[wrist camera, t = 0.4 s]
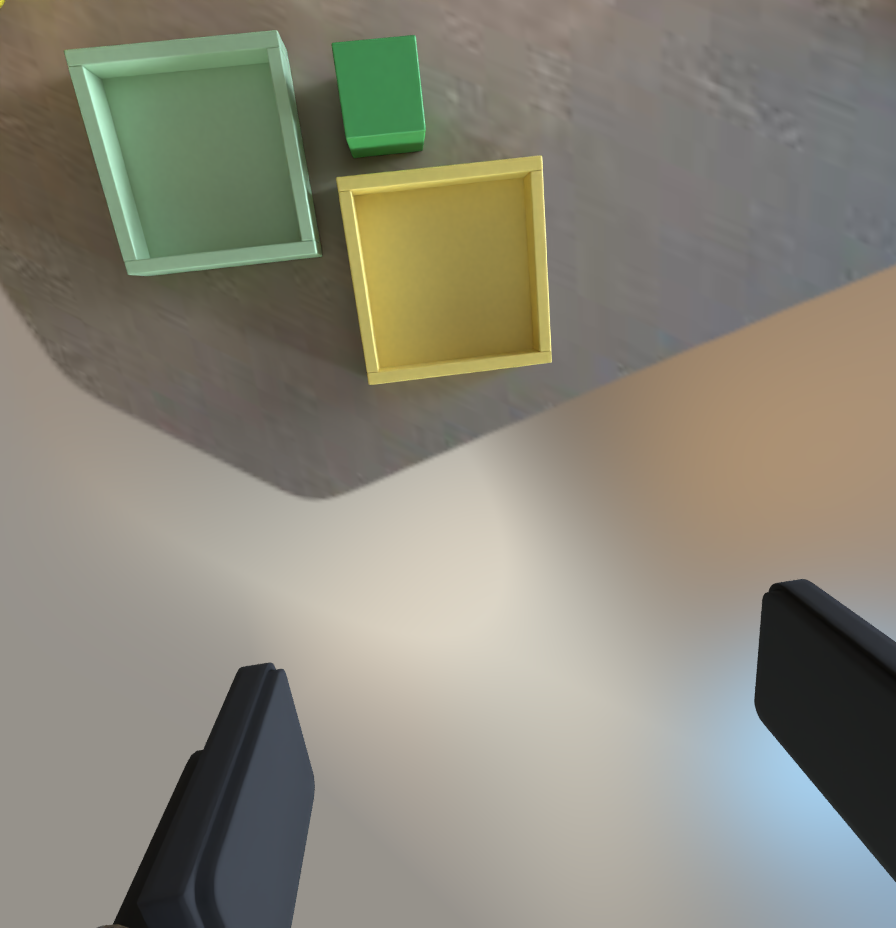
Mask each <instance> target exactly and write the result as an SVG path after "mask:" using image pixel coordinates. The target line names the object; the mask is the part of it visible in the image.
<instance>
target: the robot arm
mask: <svg viewBox="0 0 896 928" xmlns="http://www.w3.org/2000/svg"><path fill="white" fill-rule="evenodd" d="M754 702H755V708H756V711H757V714H758V716H759V718H760V720H761V721H762V722H763V724H764V725H765V726H766V727H767V728H768V730H769V731H770V732H771V733H772V734H773V736H775V738H776V739H777V740H778V742H779V743H780V744H781V745H782V746H783V748H784V749H785V750H786V751H787V752H788V754H789V755H790V756H791V757H792V758H793V760H794V761H795V762H796V763H797V764H798V765H799V767H800V768H801V769H802V770H803V772H804V773H805V774H806V775H807V776H808V778H809V779H810V780H811V781H812V782H813V784H814V785H815V786H816V787H817V788H818V790H819V791H820V792H821V793H822V794H823V796H824V797H825V798H826V799H827V800H828V802H829V803H830V804H831V805H832V806H833V808H834V809H835V810H836V811H837V812H838V814H839V815H840V816H841V817H842V818H843V819H844V821H845V822H846V823H847V824H848V826H850V828H851V829H852V830H853V832H854V833H855V834H856V835H857V836H858V838H859V839H860V840H861V841H862V842H863V843H864V845H865V846H866V847H867V848H868V849H869V851H870V852H871V853H872V854H873V855H874V857H875V858H876V859H877V860H878V861H879V863H880V864H881V865H882V866H883V867H884V869H885V870H886V871H887V872H888V873H889V875H890V876H891V877H892V878H893V879H894V881H895V882H896V642H895V641H893V640H892V639H891V638H889V637H888V636H886V635H885V634H884V633H882V632H881V631H879V630H878V629H876V628H875V627H874V626H872V625H871V624H870V623H868V622H867V621H865V620H864V619H863V618H861V617H860V616H858V615H857V614H855V613H854V612H853V611H851V610H850V609H848V608H847V607H846V606H844V605H843V604H841V603H840V602H839V601H837V600H836V599H834V598H833V597H832V596H830V595H829V594H827V593H826V592H825V591H823V590H822V589H820V588H819V587H817V586H816V585H815V584H813V583H812V582H810V581H808V580H805V579H800V580H793V581H786V582H781V583H775V584H773V585H772V586H771V587H770V589H769V592H767V593H765V594H764V596H763V599H762V611H761V625H760V636H759V649H758V661H757V674H756V686H755V699H754ZM314 788H315V785H314V775H313V771H312V767H311V764H310V760H309V756H308V753H307V749H306V745H305V742H304V738H303V734H302V731H301V727H300V723H299V720H298V716H297V713H296V709H295V705H294V701H293V698H292V694H291V691H290V687H289V683H288V679H287V676H286V673H285V671H284V669H278V670H276V669H275V666H274V665H273V663H264V664H257V665H251V666H245V667H241V668H239V670H238V672H237V673H236V676H235V678H234V680H233V683H232V685H231V687H230V690H229V692H228V694H227V696H226V699H225V701H224V703H223V706H222V708H221V710H220V712H219V715H218V717H217V719H216V722H215V724H214V726H213V729H212V731H211V733H210V735H209V738H208V740H207V742H206V745H205V747H204V749H203V750H199V751H196V752H195V753H194V754H192V755H191V757H190V759H189V760H188V762H187V764H186V766H185V768H184V770H183V772H182V775H181V777H180V779H179V781H178V783H177V785H176V788H175V790H174V792H173V794H172V796H171V799H170V801H169V803H168V805H167V807H166V809H165V812H164V814H163V816H162V818H161V820H160V823H159V825H158V827H157V829H156V832H155V833H154V836H153V838H152V840H151V842H150V844H149V847H148V849H147V851H146V853H145V855H144V858H143V860H142V862H141V864H140V866H139V868H138V871H137V873H136V875H135V877H134V879H133V881H132V884H131V886H130V888H129V890H128V892H127V895H126V897H125V899H124V901H123V904H122V906H121V908H120V910H119V912H118V914H117V916H116V919H115V921H114V923H113V925H105V926H100V927H98V928H291V925H292V919H293V913H294V908H295V902H296V897H297V891H298V885H299V879H300V874H301V868H302V862H303V856H304V851H305V845H306V840H307V834H308V828H309V823H310V817H311V811H312V805H313V800H314V790H315V789H314Z"/></svg>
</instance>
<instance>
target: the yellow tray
mask: <svg viewBox="0 0 896 928" xmlns="http://www.w3.org/2000/svg"><path fill="white" fill-rule="evenodd" d="M542 169H543V166H542V156H532V157H522V158H513V159H503V160H494V161H485V162H475V163H466V164H456V165H447V166H438V167H428V168H419V169H409V170H400V171H391V172H381V173H372V174H362V175H353V176H344V177H337V178H336V182H337V188H338V192H339V193H338V194H339V201H340V207H341V213H342V219H343V226H344V232H345V238H346V245H347V251H348V257H349V263H350V270H351V276H352V282H353V289H354V295H355V301H356V307H357V314H358V320H359V326H360V333H361V339H362V345H363V351H364V358H365V364H366V370H367V377H368V383H369V385H373V384H381V383H389V382H397V381H405V380H414V379H422V378H430V377H438V376H446V375H454V374H462V373H470V372H478V371H486V370H494V369H503V368H511V367H519V366H527V365H535V364H543V363H551V362H552V356H551V351H550V350H551V337H550V315H549V294H548V273H547V252H546V230H545V209H544V188H543V171H542Z"/></svg>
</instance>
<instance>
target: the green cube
mask: <svg viewBox="0 0 896 928" xmlns="http://www.w3.org/2000/svg"><path fill="white" fill-rule="evenodd" d="M332 50H333V57H334V64H335V70H336V77H337V84H338V90H339V97H340V104H341V110H342V117H343V124H344V130H345V137H346V140H347V143H348V145H349V148H350V151H351V154H352V156H353V158H359V157H369V156H378V155H388V154H397V153H407V152H416V151H422V150H423V145H424V138H425V130H426V128H425V119H424V109H423V100H422V91H421V82H420V72H419V63H418V54H417V44H416V36H415V35H409V36H399V37H388V38H378V39H367V40H357V41H346V42H336V43H332Z"/></svg>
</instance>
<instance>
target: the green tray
mask: <svg viewBox="0 0 896 928" xmlns="http://www.w3.org/2000/svg"><path fill="white" fill-rule="evenodd" d="M64 54H65V57H66V61H67V64H68V66H69V67H68V69H69V72H70V76H71V79H72V83H73V86H74V90H75V93H76V97H77V100H78V104H79V107H80V111H81V114H82V118H83V121H84V125H85V128H86V132H87V135H88V139H89V142H90V146H91V149H92V153H93V156H94V160H95V163H96V167H97V170H98V174H99V177H100V180H101V184H102V187H103V191H104V194H105V198H106V201H107V205H108V208H109V212H110V215H111V219H112V222H113V226H114V229H115V233H116V236H117V240H118V243H119V247H120V250H121V254H122V257H123V260H124V261H125V262H124V263H125V266H126V270H127V273H128V275H138V276H154V275H163V274H171V273H180V272H189V271H198V270H207V269H216V268H225V267H234V266H242V265H251V264H260V263H269V262H278V261H287V260H296V259H304V258H313V257H322V250H321V244H320V238H319V232H318V227H317V221H316V215H315V209H314V204H313V198H312V192H311V186H310V181H309V175H308V169H307V163H306V158H305V152H304V146H303V140H302V134H301V129H300V123H299V117H298V111H297V106H296V100H295V94H294V88H293V83H292V77H291V71H290V65H289V60H288V54H287V50H286V48H285V46H284V44H283V42H282V40H281V38H280V35H279V33H278V31H277V30H272V31H262V32H251V33H241V34H230V35H219V36H209V37H198V38H187V39H177V40H166V41H155V42H145V43H134V44H123V45H113V46H102V47H91V48H81V49H70V50H64Z"/></svg>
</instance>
